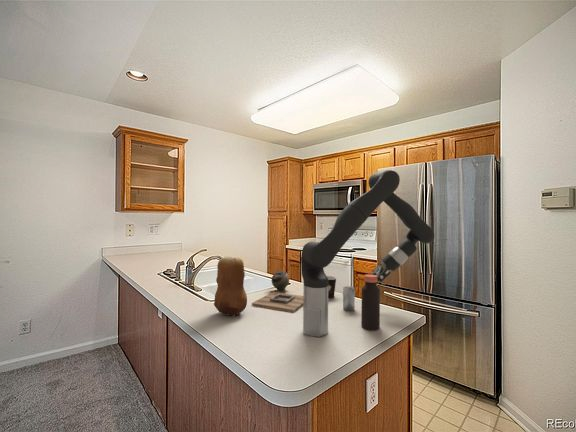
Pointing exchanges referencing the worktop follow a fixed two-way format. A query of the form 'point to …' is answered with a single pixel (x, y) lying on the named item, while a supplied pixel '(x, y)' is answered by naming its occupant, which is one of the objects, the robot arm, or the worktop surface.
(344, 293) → the steel hub
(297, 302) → the pocket base
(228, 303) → the butternut squash
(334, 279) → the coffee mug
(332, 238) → the robot arm
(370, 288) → the bottle
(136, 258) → the worktop surface
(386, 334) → the worktop surface
